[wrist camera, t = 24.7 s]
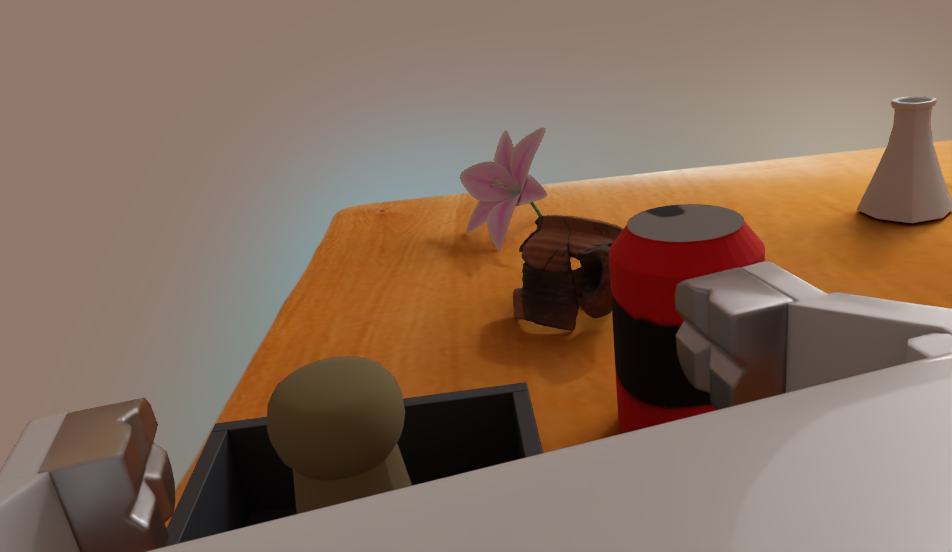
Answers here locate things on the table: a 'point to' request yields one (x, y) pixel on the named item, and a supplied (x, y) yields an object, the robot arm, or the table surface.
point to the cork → (339, 431)
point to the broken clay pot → (565, 271)
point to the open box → (421, 443)
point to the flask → (908, 169)
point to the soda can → (666, 303)
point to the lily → (503, 185)
